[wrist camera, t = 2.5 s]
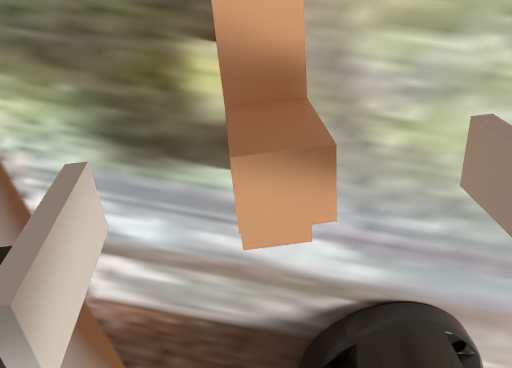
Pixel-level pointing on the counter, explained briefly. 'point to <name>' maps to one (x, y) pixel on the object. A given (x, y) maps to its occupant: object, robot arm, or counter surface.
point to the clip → (273, 124)
